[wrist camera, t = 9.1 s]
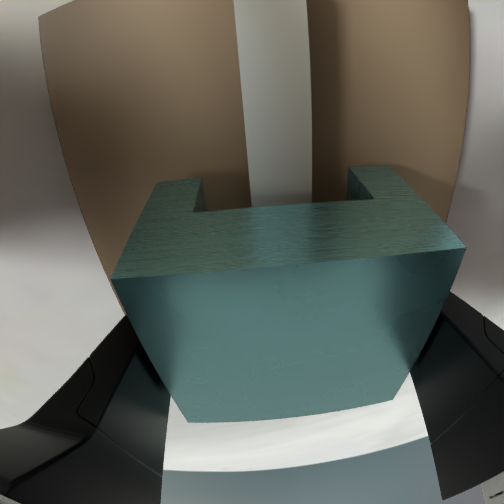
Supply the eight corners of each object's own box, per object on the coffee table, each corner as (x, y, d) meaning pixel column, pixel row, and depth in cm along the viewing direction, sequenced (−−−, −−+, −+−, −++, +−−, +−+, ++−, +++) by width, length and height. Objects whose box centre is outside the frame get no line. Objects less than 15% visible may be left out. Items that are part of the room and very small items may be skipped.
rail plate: (166, 372, 17) (162, 405, 15) (54, 17, 6) (15, 16, 4) (387, 352, 17) (398, 382, 15) (450, -2, 6) (491, -4, 4)
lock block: (196, 327, 12) (188, 422, 9) (157, 182, 8) (110, 278, 5) (362, 312, 12) (392, 399, 8) (388, 166, 8) (465, 247, 5)
